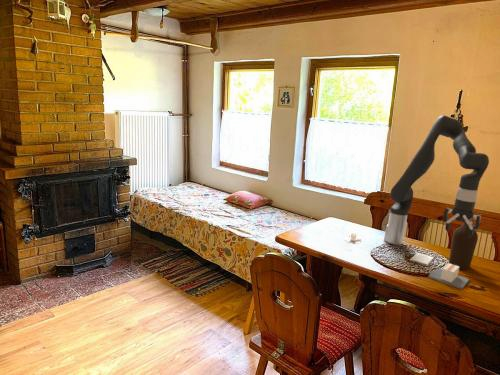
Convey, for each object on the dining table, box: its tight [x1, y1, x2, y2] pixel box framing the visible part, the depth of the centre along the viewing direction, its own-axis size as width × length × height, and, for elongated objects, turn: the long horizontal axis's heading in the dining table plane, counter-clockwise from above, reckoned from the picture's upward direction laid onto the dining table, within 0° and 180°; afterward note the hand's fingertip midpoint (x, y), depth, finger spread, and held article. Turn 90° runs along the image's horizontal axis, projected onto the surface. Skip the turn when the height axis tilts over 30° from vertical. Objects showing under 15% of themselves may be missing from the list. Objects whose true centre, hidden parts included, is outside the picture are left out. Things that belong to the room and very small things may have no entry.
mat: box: [428, 268, 470, 290], centre depth 169 cm, size 14×12×1 cm
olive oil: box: [448, 217, 479, 270], centre depth 183 cm, size 11×11×25 cm
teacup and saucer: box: [345, 233, 362, 244], centre depth 208 cm, size 9×8×4 cm
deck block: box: [441, 262, 460, 282], centre depth 168 cm, size 9×4×5 cm, turn 136°
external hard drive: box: [409, 252, 434, 267], centre depth 189 cm, size 2×8×12 cm
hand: (458, 234), depth 164 cm, fingers open, 8 cm apart
